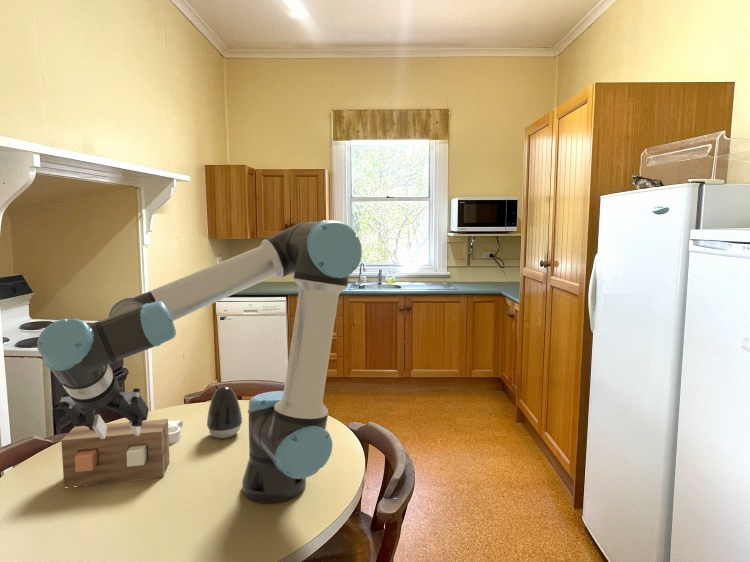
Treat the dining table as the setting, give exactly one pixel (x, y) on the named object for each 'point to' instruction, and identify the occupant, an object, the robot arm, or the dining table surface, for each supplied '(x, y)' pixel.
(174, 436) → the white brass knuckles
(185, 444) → the dining table surface
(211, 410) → the black egg shaped device
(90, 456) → the terracotta key
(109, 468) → the key console
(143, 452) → the ivory key
